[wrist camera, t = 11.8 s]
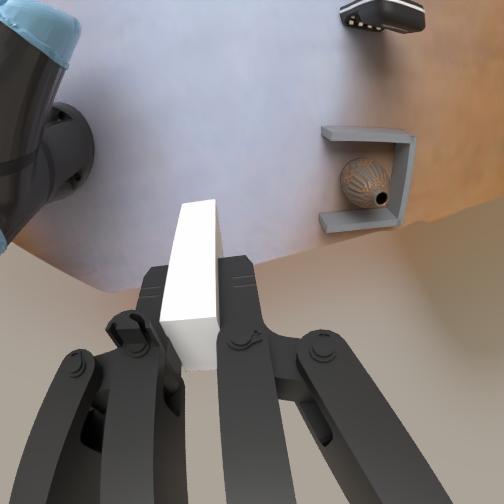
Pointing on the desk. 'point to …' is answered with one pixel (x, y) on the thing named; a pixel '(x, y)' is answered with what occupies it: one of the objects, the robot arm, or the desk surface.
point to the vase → (365, 183)
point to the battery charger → (384, 15)
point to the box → (398, 186)
